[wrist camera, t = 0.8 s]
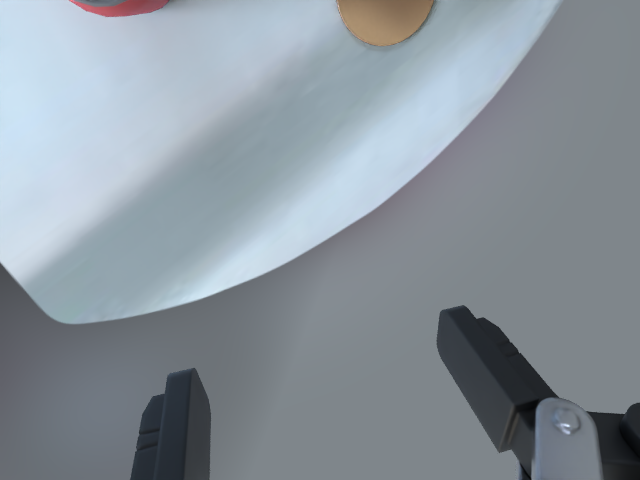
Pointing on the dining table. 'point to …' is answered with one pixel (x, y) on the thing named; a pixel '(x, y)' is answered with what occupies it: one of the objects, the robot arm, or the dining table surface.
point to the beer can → (120, 6)
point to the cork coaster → (383, 19)
